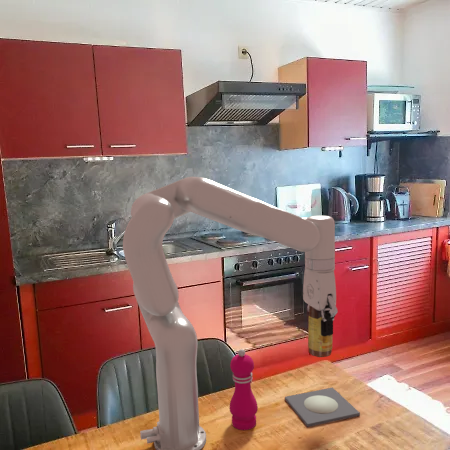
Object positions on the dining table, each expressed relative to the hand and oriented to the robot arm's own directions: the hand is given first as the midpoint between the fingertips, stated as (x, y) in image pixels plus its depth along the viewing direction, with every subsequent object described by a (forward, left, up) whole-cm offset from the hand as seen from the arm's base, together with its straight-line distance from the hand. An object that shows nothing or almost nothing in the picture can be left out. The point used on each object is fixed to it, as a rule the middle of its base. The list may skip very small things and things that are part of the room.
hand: (320, 329), depth 118 cm
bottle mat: (0, 0, -22) cm, 22 cm away
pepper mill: (-22, 0, -22) cm, 31 cm away
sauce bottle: (0, 0, -7) cm, 7 cm away
